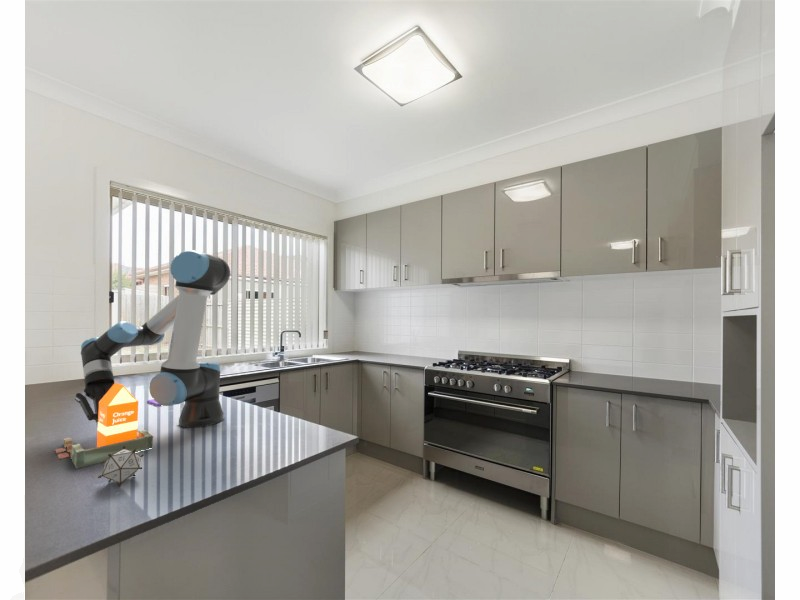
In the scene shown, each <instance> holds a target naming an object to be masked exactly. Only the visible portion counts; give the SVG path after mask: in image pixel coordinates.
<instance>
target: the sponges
mask: <svg viewBox="0 0 800 600" xmlns="http://www.w3.org/2000/svg"><path fill="white" fill-rule="evenodd" d="M146 403H147V404H149V403H150V404H149V405H152V406H154V405H155V406H154V407H156V406H158V407H161V406H160V405H161V404H159V403H157V402H156V401H155V400H154V398H153V399H147V400H146Z"/></svg>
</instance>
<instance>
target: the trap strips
mask: <svg viewBox="0 0 800 600" xmlns="http://www.w3.org/2000/svg"><path fill="white" fill-rule="evenodd" d="M54 451H56V452H55V453H57V458H58V460H63V459H67V457H68V458H70V454H69V453H67V449H66V448H65V447H61V448H56V449H55V448H54ZM63 451H66V452H63ZM60 452H62V453H60Z"/></svg>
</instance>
